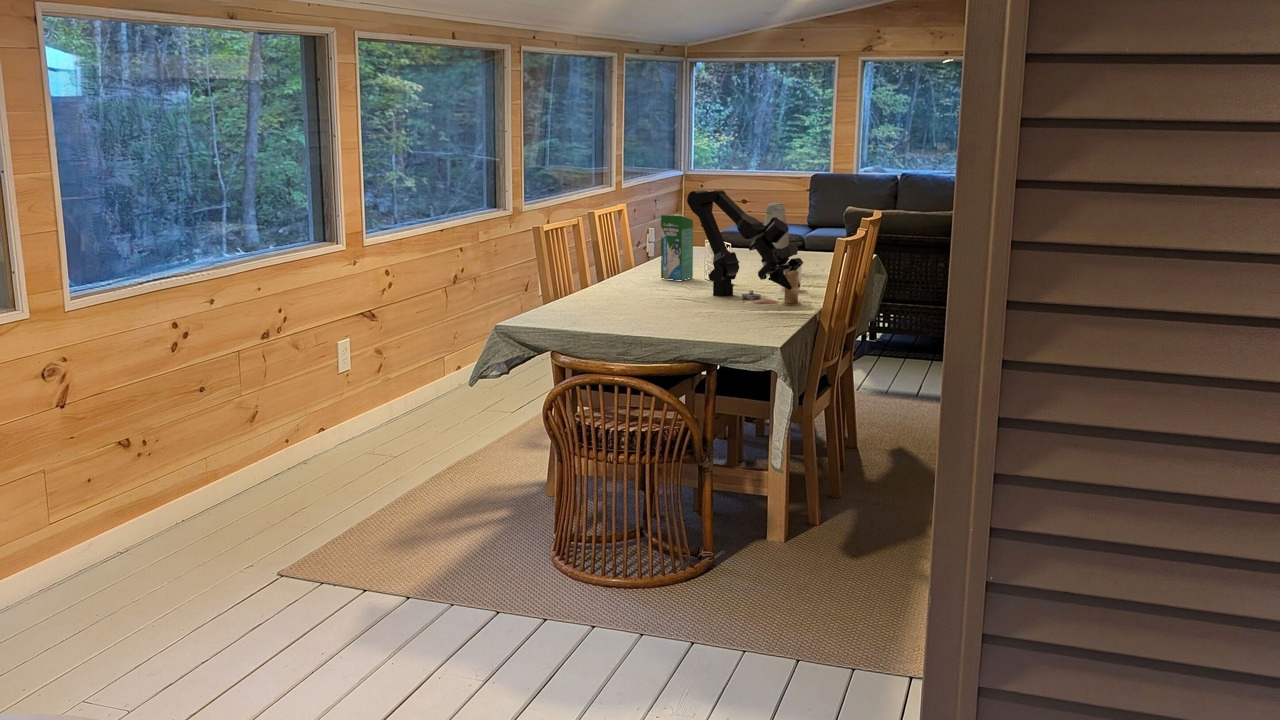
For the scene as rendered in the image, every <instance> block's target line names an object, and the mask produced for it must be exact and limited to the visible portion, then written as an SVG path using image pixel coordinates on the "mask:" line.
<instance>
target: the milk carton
mask: <svg viewBox="0 0 1280 720" xmlns="http://www.w3.org/2000/svg"><path fill="white" fill-rule="evenodd" d="M693 247H694V220H693V219H692V218H688V217H685V215H684V214H678V213H674V214H673V215H672V214H670V215H669V214H661V215H660V279H661V278H664V279H673V280H685V279H688V278H692V277H693V276H694V275H693V274H694V269H693V268H694V264H693V263H694V260H693V259H694V254H693V253H694V248H693ZM693 278H694V277H693ZM693 278H692V279H693ZM688 280H689V279H688ZM685 281H686V280H685Z"/></svg>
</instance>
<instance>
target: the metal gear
mask: <svg viewBox="0 0 1280 720" xmlns="http://www.w3.org/2000/svg"><path fill="white" fill-rule="evenodd" d="M761 297H762V294H759V293H754V289H749V292H747V293H742V294H741V300H742V299H743V300H760V299H761Z"/></svg>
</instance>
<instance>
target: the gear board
mask: <svg viewBox="0 0 1280 720" xmlns="http://www.w3.org/2000/svg"><path fill="white" fill-rule="evenodd" d="M741 300H742V301H741V302H742V304H743V305H779V304H780V303H779V298H778V296H761V299H760V300H743V299H742V298H741Z"/></svg>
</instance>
